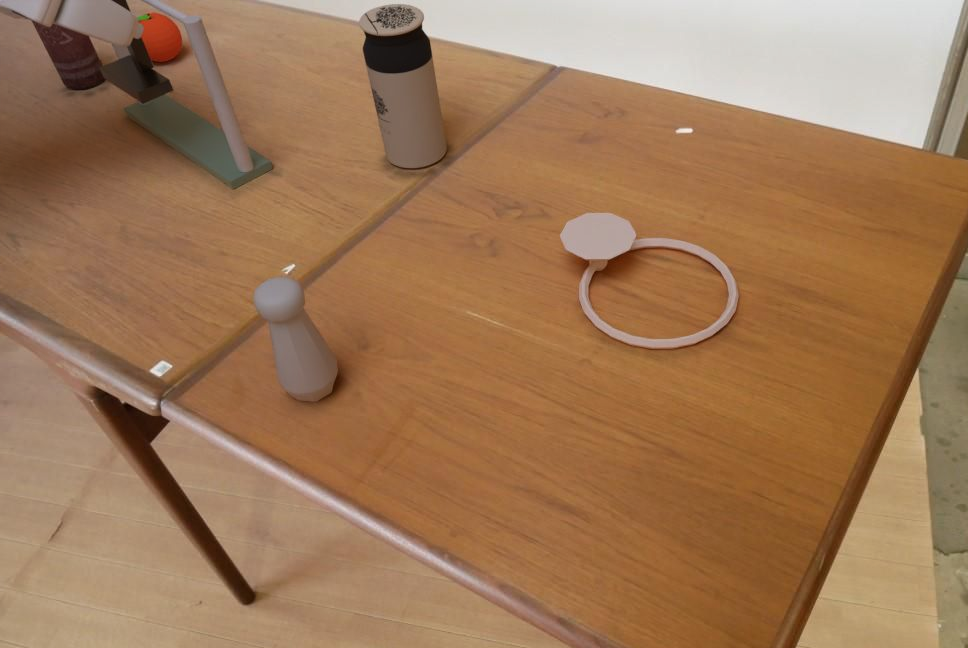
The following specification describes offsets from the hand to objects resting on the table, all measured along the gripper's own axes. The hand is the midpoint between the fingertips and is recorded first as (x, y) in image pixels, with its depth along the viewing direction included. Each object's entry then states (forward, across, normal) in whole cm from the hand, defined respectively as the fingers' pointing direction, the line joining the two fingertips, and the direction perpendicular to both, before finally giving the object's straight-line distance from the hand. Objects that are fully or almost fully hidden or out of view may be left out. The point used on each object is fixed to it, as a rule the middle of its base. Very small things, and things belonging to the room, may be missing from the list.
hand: (133, 28), depth 101 cm
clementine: (+20, -25, -4) cm, 32 cm away
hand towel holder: (+24, +65, +1) cm, 70 cm away
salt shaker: (+2, +50, -22) cm, 54 cm away
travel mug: (+25, +26, +2) cm, 36 cm away
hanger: (+4, 0, -5) cm, 6 cm away
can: (+12, -29, -12) cm, 33 cm away
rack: (+13, 0, -10) cm, 17 cm away
